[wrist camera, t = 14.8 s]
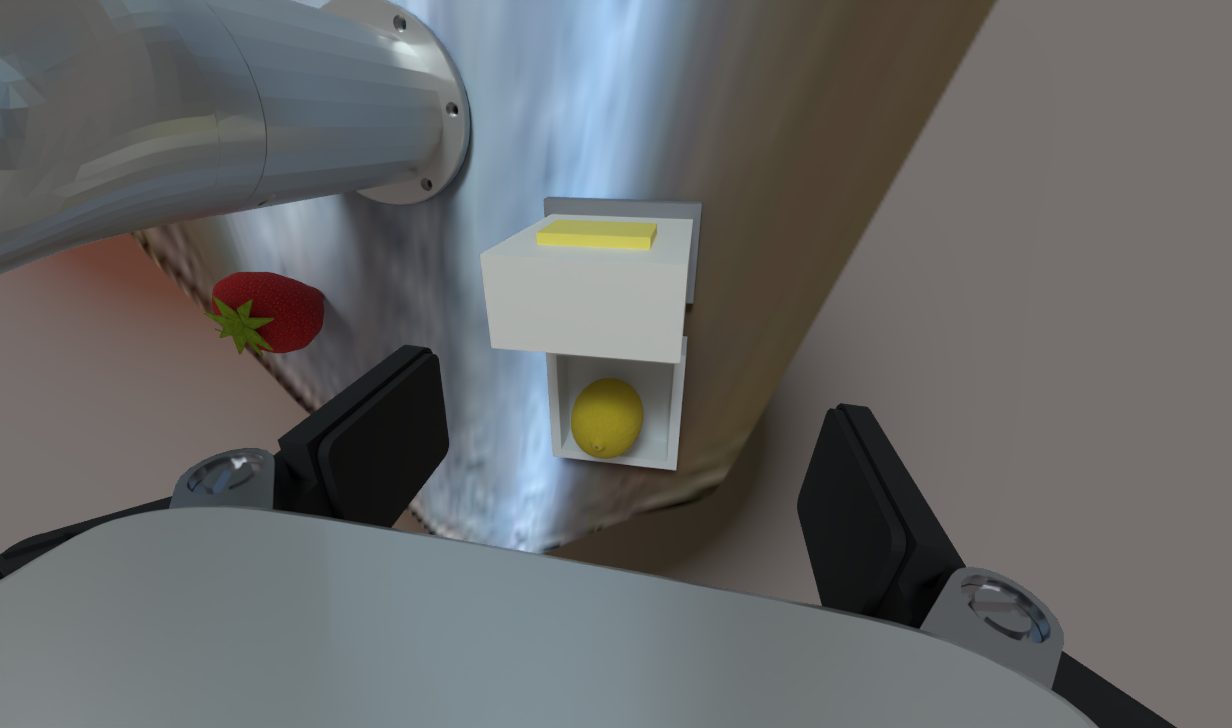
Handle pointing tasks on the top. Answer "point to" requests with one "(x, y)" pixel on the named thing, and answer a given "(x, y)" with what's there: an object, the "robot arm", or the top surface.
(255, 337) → the strawberry
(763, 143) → the top surface
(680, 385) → the tray
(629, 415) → the lemon
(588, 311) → the block
